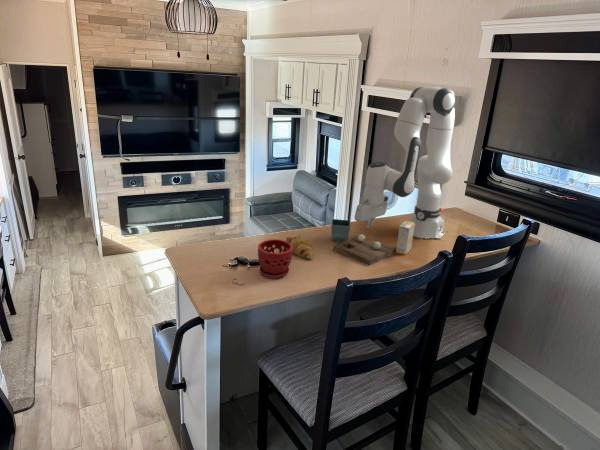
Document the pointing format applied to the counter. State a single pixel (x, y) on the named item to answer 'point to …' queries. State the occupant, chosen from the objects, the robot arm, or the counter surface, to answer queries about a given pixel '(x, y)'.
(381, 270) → the counter surface
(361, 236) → the ivory ball
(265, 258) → the plant pot
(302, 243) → the croissant
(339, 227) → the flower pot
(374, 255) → the board
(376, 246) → the sage ball
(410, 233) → the supplement box
